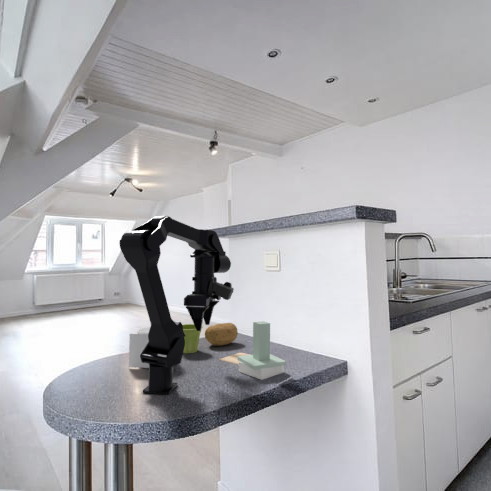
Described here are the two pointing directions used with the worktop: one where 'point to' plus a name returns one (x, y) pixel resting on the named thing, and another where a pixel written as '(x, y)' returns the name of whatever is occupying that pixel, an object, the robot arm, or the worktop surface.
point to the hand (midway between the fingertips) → (203, 327)
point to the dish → (260, 371)
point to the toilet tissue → (138, 348)
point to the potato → (221, 334)
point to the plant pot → (191, 338)
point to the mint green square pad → (233, 358)
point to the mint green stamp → (261, 349)
